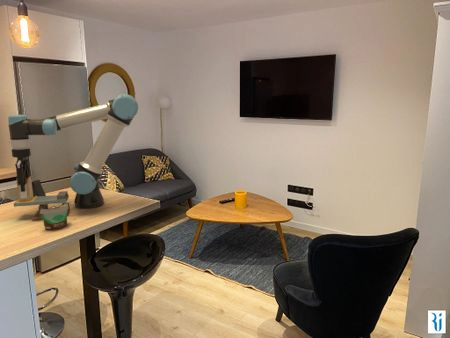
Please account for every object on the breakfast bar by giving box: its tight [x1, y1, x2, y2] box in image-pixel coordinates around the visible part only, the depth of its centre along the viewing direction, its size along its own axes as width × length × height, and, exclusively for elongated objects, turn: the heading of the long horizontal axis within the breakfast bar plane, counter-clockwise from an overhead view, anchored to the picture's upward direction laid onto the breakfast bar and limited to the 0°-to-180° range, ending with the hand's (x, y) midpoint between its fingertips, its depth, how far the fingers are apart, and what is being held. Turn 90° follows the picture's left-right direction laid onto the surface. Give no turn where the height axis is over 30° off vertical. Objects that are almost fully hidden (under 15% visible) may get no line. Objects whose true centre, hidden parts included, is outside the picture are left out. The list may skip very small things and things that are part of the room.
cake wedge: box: [40, 201, 69, 231], centre depth 149 cm, size 12×6×10 cm, turn 148°
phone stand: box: [32, 179, 47, 197], centre depth 188 cm, size 9×6×12 cm, turn 88°
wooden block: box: [15, 175, 33, 201], centre depth 161 cm, size 5×5×11 cm
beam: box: [13, 190, 70, 208], centre depth 164 cm, size 22×10×4 cm, turn 107°
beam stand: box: [31, 202, 71, 222], centre depth 166 cm, size 15×13×6 cm
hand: (26, 196), depth 161 cm, fingers closed on wooden block, 5 cm apart
